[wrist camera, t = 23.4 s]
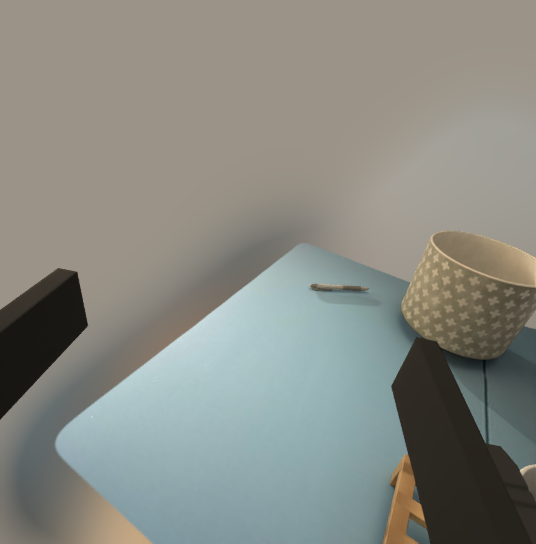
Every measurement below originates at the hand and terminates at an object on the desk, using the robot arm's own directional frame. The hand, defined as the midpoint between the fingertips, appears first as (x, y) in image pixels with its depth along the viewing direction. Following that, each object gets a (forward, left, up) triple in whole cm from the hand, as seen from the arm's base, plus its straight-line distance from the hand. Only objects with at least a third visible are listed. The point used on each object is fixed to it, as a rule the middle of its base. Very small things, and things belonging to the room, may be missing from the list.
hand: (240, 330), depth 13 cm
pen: (+6, +54, -30) cm, 62 cm away
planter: (+28, +49, -30) cm, 64 cm away
